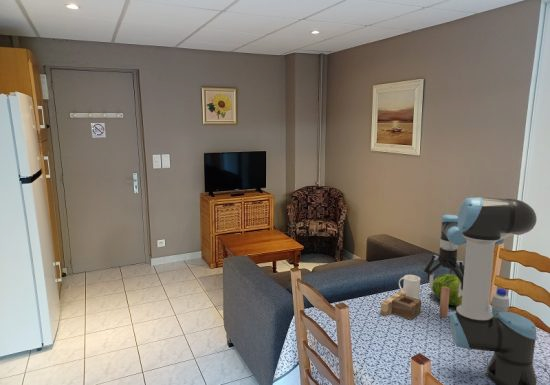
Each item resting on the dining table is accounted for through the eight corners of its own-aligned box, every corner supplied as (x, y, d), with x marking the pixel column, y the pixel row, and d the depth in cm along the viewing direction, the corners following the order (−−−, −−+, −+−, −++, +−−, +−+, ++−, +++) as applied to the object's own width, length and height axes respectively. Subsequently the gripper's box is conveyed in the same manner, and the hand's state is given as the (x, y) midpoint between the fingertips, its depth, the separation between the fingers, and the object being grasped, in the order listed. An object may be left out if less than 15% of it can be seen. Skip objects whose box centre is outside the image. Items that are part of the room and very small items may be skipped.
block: (411, 320, 182) (412, 307, 181) (391, 313, 189) (392, 300, 188) (420, 313, 189) (421, 300, 188) (401, 306, 196) (401, 294, 195)
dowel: (445, 318, 184) (448, 290, 182) (438, 315, 187) (440, 287, 185) (448, 315, 187) (450, 287, 185) (441, 313, 189) (443, 285, 187)
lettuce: (448, 297, 214) (440, 270, 215) (482, 300, 195) (473, 270, 196) (427, 307, 207) (419, 279, 208) (460, 311, 188) (451, 280, 189)
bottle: (508, 337, 168) (513, 292, 165) (491, 335, 169) (495, 291, 166) (503, 329, 174) (507, 286, 171) (486, 327, 176) (490, 285, 172)
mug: (393, 296, 209) (394, 274, 207) (404, 292, 213) (405, 271, 212) (412, 304, 199) (413, 281, 197) (422, 300, 204) (424, 278, 202)
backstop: (386, 316, 186) (386, 304, 185) (380, 314, 188) (381, 302, 187) (405, 303, 200) (406, 292, 199) (400, 301, 202) (400, 290, 201)
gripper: (480, 252, 176) (475, 296, 179) (425, 240, 193) (422, 281, 196) (474, 256, 170) (470, 302, 174) (418, 244, 187) (416, 286, 191)
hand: (445, 291), depth 185 cm, fingers open, 13 cm apart
